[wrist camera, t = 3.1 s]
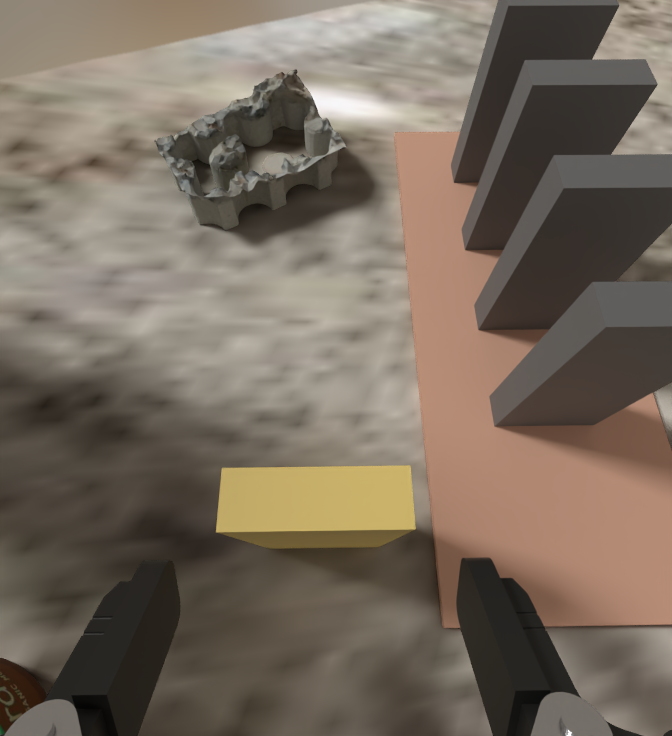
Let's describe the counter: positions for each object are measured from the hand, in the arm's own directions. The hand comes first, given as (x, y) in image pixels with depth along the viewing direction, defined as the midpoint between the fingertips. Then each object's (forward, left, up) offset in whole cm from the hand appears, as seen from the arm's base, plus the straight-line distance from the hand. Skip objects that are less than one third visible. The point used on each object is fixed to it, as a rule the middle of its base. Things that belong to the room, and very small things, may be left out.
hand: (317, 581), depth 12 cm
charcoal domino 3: (-1, +17, -8) cm, 19 cm away
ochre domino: (-1, +1, -8) cm, 8 cm away
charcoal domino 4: (+3, +13, -8) cm, 15 cm away
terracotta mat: (-1, +17, -8) cm, 19 cm away
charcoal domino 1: (-9, +25, -8) cm, 28 cm away
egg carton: (-20, +14, -9) cm, 26 cm away
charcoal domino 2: (-5, +21, -8) cm, 23 cm away
